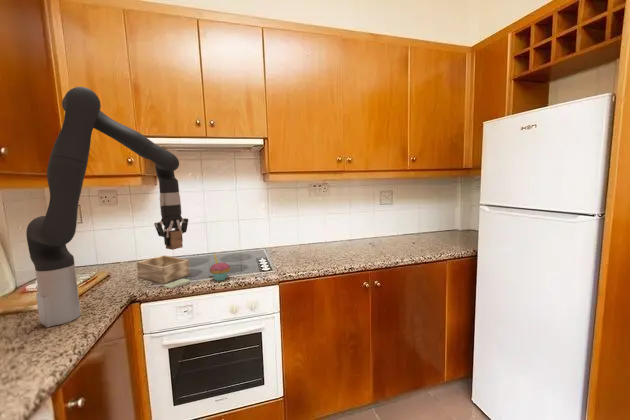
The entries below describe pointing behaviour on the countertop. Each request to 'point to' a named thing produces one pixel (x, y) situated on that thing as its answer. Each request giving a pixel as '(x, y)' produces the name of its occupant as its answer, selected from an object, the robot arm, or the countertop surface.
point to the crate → (163, 269)
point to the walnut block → (175, 240)
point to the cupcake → (219, 270)
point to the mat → (176, 283)
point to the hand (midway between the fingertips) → (173, 244)
